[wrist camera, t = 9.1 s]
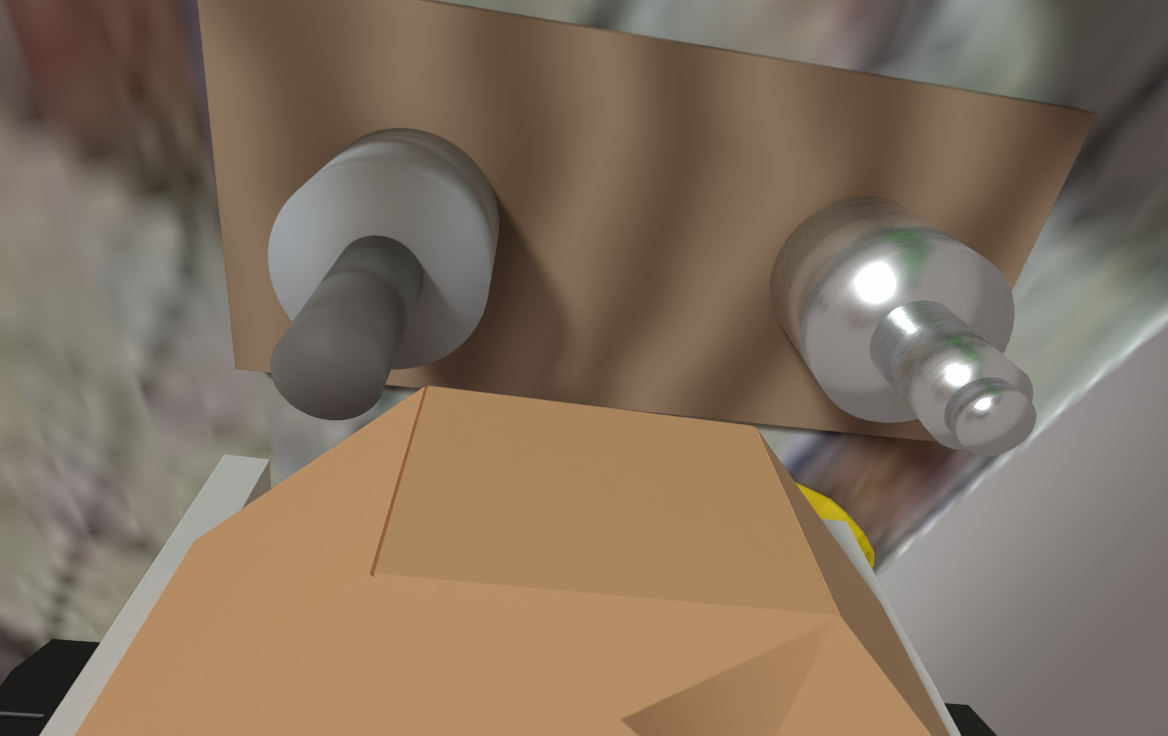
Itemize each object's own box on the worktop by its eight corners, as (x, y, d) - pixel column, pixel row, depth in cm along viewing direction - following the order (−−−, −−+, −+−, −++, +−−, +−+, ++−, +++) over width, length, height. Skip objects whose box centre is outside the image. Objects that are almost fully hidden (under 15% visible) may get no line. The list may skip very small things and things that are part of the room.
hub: (750, 340, 32) (843, 508, 22) (797, 184, 29) (932, 301, 19) (897, 357, 33) (1051, 528, 23) (960, 208, 29) (1173, 332, 19)
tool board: (247, 353, 33) (72, 579, 21) (212, -37, 25) (-102, -42, 13) (924, 425, 37) (1110, 650, 25) (1073, 107, 29) (1452, 207, 17)
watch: (745, 491, 39) (768, 568, 34) (776, 455, 38) (805, 529, 32) (829, 534, 40) (864, 615, 35) (862, 501, 39) (903, 580, 34)
